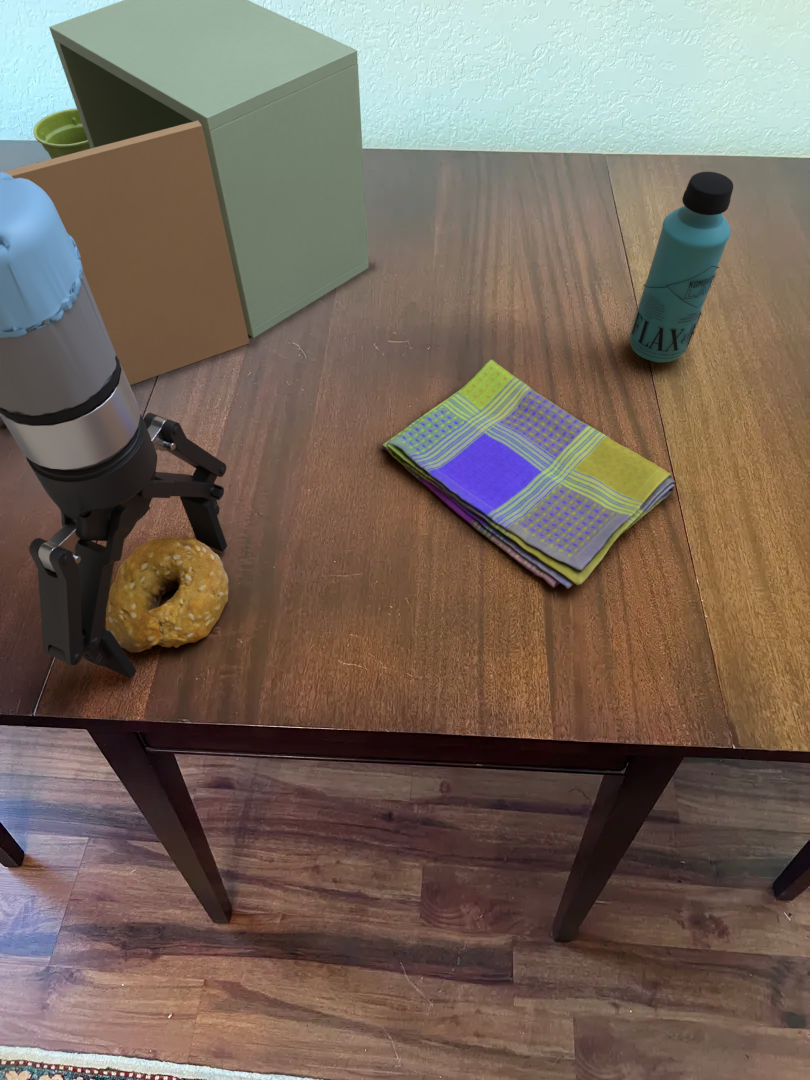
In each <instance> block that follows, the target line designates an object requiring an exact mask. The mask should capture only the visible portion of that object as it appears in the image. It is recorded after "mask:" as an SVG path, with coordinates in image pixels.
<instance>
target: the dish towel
mask: <svg viewBox="0 0 810 1080" xmlns="http://www.w3.org/2000/svg"><path fill="white" fill-rule="evenodd" d="M381 448H382V449H383V450H385V451H387V453H388V454H390V456H391V457H392V458H394V459H395V460H396V461H397V462H398V463H399V464H401V465H402V467H404V468H405V470H407V471H408V472H409V473H410V474H411V475H412V476H414V477H415V478H416V479H417V480H418V481H419V482H421V483H422V484H423V485H424V486H426V487H427V488H428V489H429V490H430V491H431V492H433V493H434V494H435V496H437V497H438V498H439V499H440V500H441V501H442V502H443V503H444V504H446V505H447V506H448V507H449V508H450V509H451V510H452V511H454V512H455V513H456V514H457V515H458V516H460V517H461V518H462V519H463V520H464V521H466V522H467V523H468V524H469V525H471V527H473V529H475V530H476V531H478V532H479V533H480V534H482V535H483V536H484V537H486V538H487V539H488V540H489V541H491V542H492V543H493V544H495V545H496V546H497V547H498V548H500V549H501V550H503V552H505V553H506V554H508V556H510V557H511V558H512V559H514V560H515V561H516V562H517V563H518V564H520V565H521V566H523V567H524V568H525V569H526V570H528V571H529V572H532V573H533V575H534V576H536V577H539V578H542V579H543V580H544V581H545V582H546V583H547V584H548V585H549V586H550V587H552V588H553V589H554V588H556V587H557V586H559V584H561V585H563V586H564V587H565V588H566V589H570V588H571V587H572V586H574V585H576V586H578V587H579V586H581V585H582V584H583V583H584V582H585V581H586V580H587V579H588V578H589V576H590V575H591V573H592V572H593V571H594V570H595V569H596V567H597V566H598V565H599V564H600V563H601V561H602V560H603V558H604V557H605V556H606V555H607V553H608V551H609V550H610V548H611V547H612V546H613V544H615V542H616V541H617V539H618V538H620V536H621V535H623V534H624V533H625V532H626V531H628V530H629V529H630V528H631V527H633V526H634V525H635V524H636V523H637V522H639V521H640V520H641V519H642V518H643V517H645V515H647V514H648V513H650V512H651V511H652V510H653V509H654V508H656V507H657V506H659V504H660V503H661V502H663V501H664V500H665V499H667V498H668V497H669V496H670V494H672V493H673V492H674V490H675V484H676V481H675V480H674V479H673V478H672V476H673V475H672V473H670V472H669V471H667V470H665V469H664V468H662V467H660V466H658V465H657V464H656V463H655V462H652V461H651V460H649V459H647V458H645V457H643V456H641V455H640V454H639V453H637V452H635V451H633V450H632V449H630V448H628V447H626V446H624V445H622V444H620V443H618V442H617V441H615V440H613V439H612V438H610V437H609V436H607V435H606V434H605V433H603V432H601V431H600V430H597V429H596V428H594V427H592V426H590V425H589V424H587V423H586V422H584V421H582V420H580V419H579V418H577V417H575V416H573V415H572V414H571V413H569V411H566V410H564V409H563V408H562V407H560V406H559V405H557V404H556V403H554V402H553V401H551V400H550V399H548V398H546V397H545V396H543V395H542V394H540V393H538V392H537V391H536V390H534V389H533V388H531V387H530V386H529V385H528V384H527V383H525V382H524V381H522V380H521V379H519V378H518V377H516V376H515V375H514V374H512V373H510V371H508V370H506V369H505V368H504V367H502V366H501V365H500V364H498V363H497V362H496V361H495V360H493V359H489V360H488V362H486V363H485V364H484V365H483V367H482V368H481V369H480V370H479V371H478V372H477V373H476V374H475V375H474V376H473V377H471V379H470V380H469V381H468V382H467V383H466V384H465V385H464V386H463V387H462V388H460V389H459V390H457V391H456V392H454V393H453V394H452V395H451V396H449V397H448V398H446V399H444V400H443V401H442V402H440V403H439V404H437V405H436V406H435V407H433V408H432V409H430V410H428V411H427V412H425V413H424V414H423V415H422V416H420V417H419V418H417V419H416V420H414V421H413V422H412V423H410V424H409V425H408V426H406V427H405V428H404V429H402V430H401V431H399V432H398V433H396V434H395V435H394V436H392V437H390V438H389V439H388V440H387V441H386V442H384V443H382V445H381Z"/></svg>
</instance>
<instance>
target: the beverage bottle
mask: <svg viewBox="0 0 810 1080" xmlns="http://www.w3.org/2000/svg"><path fill="white" fill-rule="evenodd" d="M733 191H734V182H733V181H732V180H731V179H730V178H729V177H728V176H726V175H724V174H722V173H719V172H715V171H700V172H696V173H695V174H693V175H692V176H691V177H690V179H689V181H688V183H687V186H686V188H685V190H684V192H683V194H682V195H683V196H682V198H681V199H682V201H681V202H682V204H683V205H684V206H681V207H678V208H676V209H674V210H672V211H670V212H669V213H668V214H667V215H666V216H664V219H663V221H662V226H661V231H660V234H659V237H658V241H657V244H656V248H655V251H654V255H653V258H652V262H651V265H650V268H649V272H648V275H647V278H646V280H645V283H643V284H642V290H641V293H640V294H641V296H640V298H638V303H637V307H636V310H635V311H636V312H635V313H634V317H633V318H632V321H631V327H630V329H629V331H630V332H629V337H628V338H629V345H630V347H631V349H632V350H633V351H634V353H635V354H637V355H638V356H639V357H641V358H642V359H645V360H647V361H650V362H654V363H670V362H673V361H676V360H679V359H680V358H681V357H683V355H684V354H685V353H686V352H687V351H688V349H689V348H690V345H691V342H692V341H693V338H694V335H695V333H696V329H697V327H698V325H699V322H700V320H701V319H700V318H701V316H702V311H703V307H704V304H705V303H706V302H705V301H706V299H707V298H708V295H709V293H710V292H711V289H712V288H713V287H712V286H713V284H714V281H715V278H716V276H717V274H718V272H717V270H718V269H720V267H719V264H720V261H721V258H722V255H723V253H724V250H725V248H726V245H727V242H728V241H729V240H730V237H731V232H732V231H731V229H732V228H731V226H730V223H729V221H728V220H727V219H726V217H725V216H724V214H723V213H725V212H726V211H727V210H728V209H729V206H730V204H731V201H732V200H731V198H732V196H733V195H732V194H733Z"/></svg>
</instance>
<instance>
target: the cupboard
mask: <svg viewBox="0 0 810 1080" xmlns="http://www.w3.org/2000/svg"><path fill="white" fill-rule="evenodd" d="M48 29H49V31H50V34H51V37H52V39H53V43H54V46H55V48H56V52H57V55H58V58H59V60H60V64H61V66H62V70H63V72H64V75H65V78H66V81H67V84H68V87H69V90H70V93H71V95H72V98H73V101H74V104H75V107H76V108H77V110H78V113H79V116H80V119H81V122H82V125H83V128H84V131H85V134H86V136H87V139H88V142H89V145H90V148H95V147H99V146H103V145H107V144H110V143H114V142H118V141H122V140H126V139H129V138H133V137H137V136H141V135H145V134H148V133H152V132H156V131H160V130H164V129H167V128H171V127H175V126H179V125H183V124H186V123H190V122H194V121H199V122H200V124H201V125H202V128H203V133H204V138H205V142H206V147H207V151H208V156H209V160H210V165H211V170H212V174H213V179H214V183H215V188H216V192H217V197H218V201H219V206H220V211H221V215H222V220H223V224H224V229H225V233H226V238H227V243H228V247H229V252H230V256H231V261H232V265H233V270H234V275H235V279H236V284H237V288H238V293H239V297H240V302H241V307H242V311H243V316H244V320H245V325H246V329H247V334H248V336H250V337H251V338H253V339H254V338H256V337H258V336H260V335H261V334H263V333H264V332H265V331H267V330H269V329H271V328H272V327H275V325H277V324H278V323H281V322H282V321H284V320H285V319H287V318H289V317H290V316H292V315H294V314H295V313H297V312H299V311H300V310H302V309H303V308H305V307H307V306H308V305H310V304H311V303H313V302H315V301H317V300H318V299H320V298H322V297H323V296H325V295H326V294H328V293H329V292H331V291H333V290H335V289H336V288H339V286H342V285H344V283H346V282H348V281H350V280H352V278H354V277H356V276H357V275H359V274H361V273H362V272H364V271H366V270H368V269H369V267H370V264H369V246H368V245H369V244H368V226H367V208H366V189H365V188H366V187H365V170H364V155H363V154H364V150H363V132H362V114H361V113H362V112H361V97H360V77H359V76H360V75H359V61H358V60H359V59H358V50H357V49H355V48H354V47H351V46H349V45H347V44H344V43H342V42H340V41H338V40H336V39H334V38H332V37H330V36H328V35H326V34H323V33H321V32H319V31H316V30H315V29H312V28H310V27H307V26H306V25H303V24H302V23H299V22H296V21H294V20H292V19H291V18H288V17H286V16H284V15H282V14H279V13H277V12H274V11H273V10H271V9H268V8H266V7H264V6H262V5H259V4H257V3H256V2H253V1H251V0H120V1H117V2H115V3H112V4H109V5H105V6H104V7H100V8H97V9H95V10H92V11H89V12H87V13H84V14H81V15H78V16H76V17H72V18H70V19H66V20H64V21H61V22H58V23H56V24H53V25H50V26H49V27H48Z"/></svg>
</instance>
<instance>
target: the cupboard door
mask: <svg viewBox="0 0 810 1080" xmlns="http://www.w3.org/2000/svg"><path fill="white" fill-rule="evenodd" d="M2 172H3V173H7V174H9V175H11V176H12V177H13V178H14V179H15V178H23V179H28V180H30V181H32V182H33V183H35V184H36V185H38V186H39V187H40V188H42V189H43V190H44V191H45V192H46V194H47V195H48V196H49V197H50V199H51V200H52V202H53V204H54V206H55V208H56V210H57V212H58V214H59V216H60V219H61V221H62V223H63V225H64V227H65V229H66V231H67V233H68V235H70V236H72V238H73V240H74V241H75V243H76V246H77V248H78V251H79V253H80V256H81V257H80V261H81V265H82V268H83V272H84V274H85V277H86V279H87V282H88V285H89V287H90V290H91V292H92V295H93V297H94V300H95V302H96V305H97V307H98V310H99V312H100V315H101V318H102V320H103V323H104V325H105V328H106V330H107V333H108V335H109V338H110V340H111V343H112V345H113V348H114V350H115V353H116V355H117V358H118V359H119V361H120V363H121V366H122V368H123V370H124V373H125V375H126V377H127V380H128V382H129V384H130V386H132V385H135V384H138V383H141V382H143V381H146V380H150V379H153V378H155V377H158V376H162V375H164V374H167V373H169V372H172V371H176V370H178V369H181V368H184V367H186V366H189V365H192V364H195V363H198V362H201V361H204V360H206V359H209V358H212V357H215V356H218V355H221V354H223V353H226V352H229V351H232V350H235V349H238V348H241V347H242V346H246V345H249V344H250V339H249V334H247V329H246V325H245V320H244V316H243V311H242V307H241V302H240V297H239V293H238V288H237V284H236V279H235V275H234V270H233V265H232V261H231V256H230V252H229V247H228V243H227V238H226V233H225V229H224V224H223V220H222V215H221V211H220V206H219V201H218V197H217V192H216V188H215V183H214V179H213V174H212V170H211V165H210V160H209V156H208V151H207V147H206V142H205V138H204V133H203V128H202V125H201V124H200V122H199V121H194V122H190V123H186V124H183V125H179V126H175V127H171V128H167V129H164V130H160V131H156V132H152V133H148V134H145V135H141V136H137V137H133V138H129V139H126V140H122V141H118V142H114V143H110V144H107V145H103V146H99V147H95V148H91V149H88V150H84V151H80V152H76V153H73V154H69V155H65V156H61V157H57V158H54V159H51V158H49V159H46V160H43V161H39V162H35V163H31V164H27V165H23V166H20V167H16V168H13V169H9V170H5V171H2Z"/></svg>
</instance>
